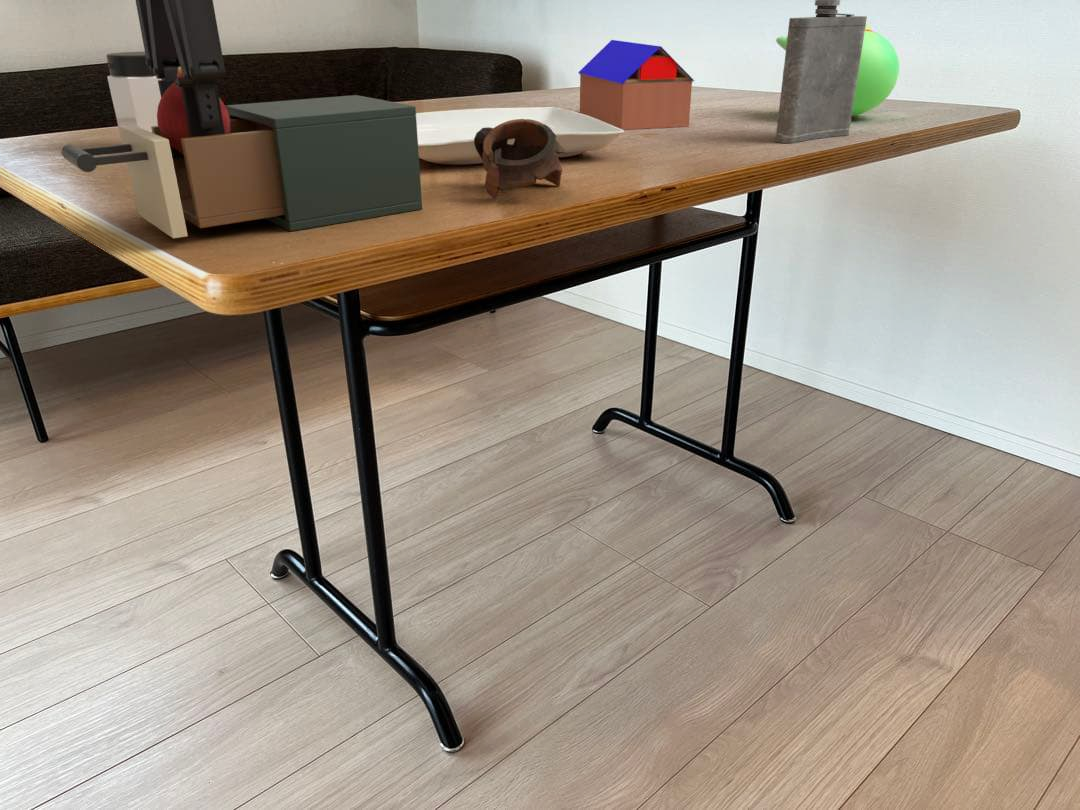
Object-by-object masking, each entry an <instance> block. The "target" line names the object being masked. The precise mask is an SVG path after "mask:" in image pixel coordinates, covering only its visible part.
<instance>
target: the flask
mask: <svg viewBox="0 0 1080 810" xmlns="http://www.w3.org/2000/svg"><path fill="white" fill-rule="evenodd" d="M840 4H841V0H815V1H814V6H816V8H815V11H814V14H815V16H805V17H789V21H788V30H787V36H786V37H787V46H786V51H785V54H784V64H783V70H784V71H782V82H781V90H780V98H779V107H778V114H777V115H778V116H777V124H776V133H775V140H774V141H775V142H776V143H779V144H795V143H799V142H805V141H810V140H816V139H823V138H825V139H826V138H833V137H843V136H845V137H846V136H849V135H850V130H851V123H852V117H853V116H852V111H853V104H854V98H855V91H856V85H857V78H858V72H859V65H860V58H861V52H862V45H863V39H864V32H865V26H866V25H867V19H868V16H867V15H865V16H864V15H855V14H853V13H838V11H839V10H838V6H840Z"/></svg>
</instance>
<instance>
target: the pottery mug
mask: <svg viewBox="0 0 1080 810" xmlns="http://www.w3.org/2000/svg"><path fill="white" fill-rule="evenodd" d="M555 138H556V135H555V133H554V132H553V131H552V130H551V129H550V128H549V127H548V126H547V125H545V124H542V123H540V122H538V121H535V120H530V119H526V120H525V119H515V120H510V121H507V122H504V123H502V124H500V125H498V126H496V127H494V128H489V127H486V128H482V129H481V130H480V131H478V132H477V133H476V135H475V138H474V144H475V148H476V150H477V152H478V154H479V156H480V157H481V159H482V160H483V163H482V165H483V168H484V170H485V171H486V175H485V179H484V185H483V186H484V189H485V193H486V194H488V195H489V196H490V197H491V198H492V199H494V200H497V198H498V197H499V194H500V191H501V192H502V191H507V190H512V189H517V188H521V187H527V186H533V185H535V184H536V183H537V180H539V181H542V180H545V181H548V182H549V183H552V184H554V185H555V186H556V187H560V186H561V180H562V175H563V174H562V173H563V167H562V165H561V161H560V159H559V157H557V155H556V153H557V154H561V153H565V151H564V149H563V147H562V146H561V145H560V143H558V142H557V141H556V139H555ZM508 139H515V141H514V143H513V145H512V144H507V142H508Z"/></svg>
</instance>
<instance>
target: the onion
mask: <svg viewBox="0 0 1080 810" xmlns="http://www.w3.org/2000/svg"><path fill="white" fill-rule="evenodd" d="M182 77H183V74H182V70H181V67H178V73H177V79H178V78H182ZM219 100H220V106H221V112H222V118H223V124H224V130H225V134H230V119H229V115H228V111H227V109H226V105H225V103H224V102H223V101H222V100H223V99H221V98H220V97H219ZM157 123H158V127H159V130H160V132H161V135H162V136H163V137H164V138H166V139H168V140H169V144H170V145H171V146H173V147H174V148H175V149H177V150H178V151H179V152H180V153H182V154H183V155H184V153H183V148H182V143H181V138H189V137H190V135H189V129H188V124H187V118H186V113H185V107H184V102H183V96H182V91H181V87H177V86H176V84H175V82H174V83H173V84H172V85H171V86H170V87H169V88H168V89H167V90H166V91H165V92H164V94H163V96H162V97H161V99H160V102H159V105H158V111H157Z"/></svg>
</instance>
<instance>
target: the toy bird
mask: <svg viewBox="0 0 1080 810" xmlns="http://www.w3.org/2000/svg"><path fill="white" fill-rule="evenodd" d="M787 37H788V36H784V35H783V36H782V35H781V36H778V37H776V38H775V42H776V43H777V45H778V46H779V47H780V48H782V49H783V50H784V51H785V52H786V46H787ZM783 71H784V69H783ZM783 71H782V72H783ZM899 74H900V61H899V57H898V54H897V52H896V49H895V47H894V46H893V44H892V43H891V42H890V40H888V39H887V38H886V37H885V36H884V35H882V34H880V33H879V32H877V31H874V30H871V26H870V25H868V24H866V26H865V32H864V39H863V45H862V52H861V58H860V65H859V72H858V78H857V85H856V91H855V98H854V104H853V111H852V117H855V116H859V115H861V114H865V113H867V112H869V111H871V110H873V109H875V108H876V107H878V106H880V105H881V104H882V103H884V101H885V100H886V99H887V98H888V97H889V96H890V95H891V93H892V92H893V90H894V88H895V86H896V84H897V81H898V78H899Z"/></svg>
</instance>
